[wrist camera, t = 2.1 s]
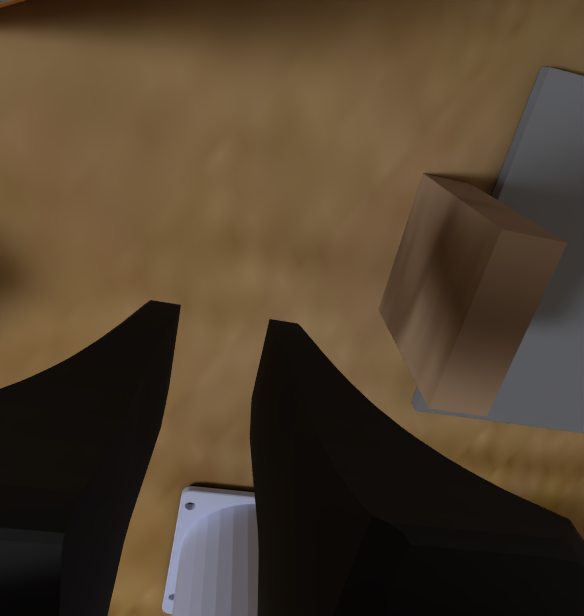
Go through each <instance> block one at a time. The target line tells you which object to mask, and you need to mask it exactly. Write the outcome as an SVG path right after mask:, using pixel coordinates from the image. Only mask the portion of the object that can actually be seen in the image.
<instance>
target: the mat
mask: <svg viewBox="0 0 584 616" xmlns="http://www.w3.org/2000/svg"><path fill="white" fill-rule="evenodd" d="M492 197H493V198H495V199H497V200H498V201H500V202H502V203H503V204H505V205H507V206H508V207H510V208H511V209H513V210H515V211H516V212H518V213H520V214H521V215H523V216H525V217H526V218H528V219H530V220H531V221H533V222H534V223H536V224H538V225H539V226H541V227H543V228H544V229H546V230H548V231H549V232H551V233H552V234H554V235H556V236H557V237H559V238H561V239H562V240H564V241H566V242H567V243H568V244H567V246H566V248H565V250H564V252H563V254H562V256H561V259H560V261H559V263H558V265H557V267H556V269H555V271H554V273H553V276H552V278H551V280H550V282H549V284H548V286H547V288H546V291H545V293H544V295H543V297H542V299H541V301H540V303H539V305H538V308H537V310H536V312H535V314H534V316H533V318H532V320H531V323H530V325H529V327H528V329H527V331H526V333H525V335H524V337H523V340H522V342H521V344H520V346H519V348H518V350H517V352H516V355H515V357H514V359H513V361H512V363H511V365H510V367H509V370H508V372H507V374H506V376H505V378H504V380H503V382H502V384H501V387H500V389H499V391H498V393H497V395H496V397H495V399H494V402H493V404H492V406H491V408H490V410H489V412H488V414H487V416H479V415H471V414H464V413H457V412H450V411H442V410H435V409H429V408H428V406H427V404H426V402H425V400H424V398H423V396H422V394H421V392H420V390H419V388H418V387H417V389H416V392H415V395H414V397H413V400H412V402H411V403H412V405H413V407H414V409H415V410H416V411H423V412H430V413H438V414H445V415H452V416H460V417H467V418H475V419H482V420H489V421H497V422H504V423H511V424H519V425H526V426H533V427H541V428H548V429H555V430H563V431H570V432H577V433H584V76H582V75H578V74H574V73H570V72H567V71H563V70H559V69H555V68H551V67H541V69H540V71H539V74H538V77H537V79H536V82H535V84H534V87H533V90H532V92H531V95H530V97H529V100H528V102H527V105H526V108H525V110H524V113H523V115H522V118H521V121H520V123H519V126H518V128H517V131H516V134H515V136H514V139H513V141H512V144H511V146H510V149H509V152H508V154H507V157H506V159H505V162H504V165H503V167H502V170H501V172H500V175H499V177H498V180H497V183H496V185H495V188H494V190H493V193H492Z"/></svg>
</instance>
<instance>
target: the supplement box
mask: <svg viewBox="0 0 584 616" xmlns="http://www.w3.org/2000/svg"><path fill="white" fill-rule="evenodd" d="M22 1H25V0H0V8H2V7H5V6H8V5H12V4H16V3H19V2H22Z"/></svg>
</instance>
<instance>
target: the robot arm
mask: <svg viewBox="0 0 584 616" xmlns="http://www.w3.org/2000/svg"><path fill="white" fill-rule="evenodd" d="M180 307H181V305H178V304H171V303H165V302H159V301H153V300H150V301H149V302H147V303H146V304H144V305H143V306H142V307H141V308H139V309H138V310H137V311H136V312H135V313H133V314H132V315H131V316H130V317H128V318H127V319H126V320H125V321H123V322H122V323H121V324H119V325H118V326H117V327H115V328H114V329H113V330H111V331H110V332H108V333H107V334H106V335H104V336H103V337H102V338H100V339H99V340H97V341H96V342H94V343H93V344H91V345H89V346H88V347H86V348H85V349H83V350H81V351H80V352H78V353H77V354H75V355H73V356H72V357H70V358H68V359H66V360H65V361H63V362H61V363H59V364H57V365H55V366H53V367H51V368H49V369H47V370H44V371H42V372H40V373H38V374H36V375H34V376H32V377H29V378H27V379H25V380H22V381H20V382H17V383H14V384H12V385H9V386H6V387H4V388H1V389H0V616H107V615H108V611H109V606H110V602H111V597H112V593H113V588H114V584H115V580H116V575H117V571H118V566H119V562H120V557H121V553H122V549H123V544H124V540H125V536H126V533H127V529H128V526H129V522H130V519H131V516H132V513H133V510H134V507H135V504H136V501H137V498H138V495H139V492H140V489H141V486H142V483H143V480H144V477H145V474H146V471H147V468H148V465H149V462H150V459H151V456H152V453H153V450H154V447H155V444H156V441H157V438H158V435H159V431H160V428H161V424H162V419H163V415H164V410H165V405H166V400H167V395H168V390H169V384H170V377H171V370H172V363H173V356H174V349H175V342H176V335H177V328H178V321H179V314H180ZM250 446H251V459H252V471H253V482H254V492H245V491H235V490H225V489H216V488H206V487H196V486H189V487H186V488H185V489H184V490H183V492H182V496H181V501H180V507H179V513H178V519H177V524H176V530H175V536H174V542H173V547H172V553H171V559H170V565H169V570H168V576H167V582H166V587H165V593H164V599H163V605H162V610H163V611H164V612H165V613H168V614H172V616H584V540H583V539H582V537H581V536H580V534H579V533H578V531H577V530H576V528H575V527H574V526H573V524H572V523H571V521H570V520H569V519H567V518H565V517H563V516H560V515H558V514H556V513H554V512H552V511H549V510H547V509H545V508H543V507H541V506H539V505H536V504H534V503H532V502H530V501H528V500H525V499H523V498H521V497H519V496H517V495H514V494H512V493H510V492H508V491H506V490H504V489H502V488H500V487H498V486H496V485H494V484H492V483H491V482H489V481H487V480H485V479H483V478H481V477H479V476H478V475H476V474H474V473H472V472H470V471H468V470H466V469H465V468H463V467H461V466H460V465H458V464H456V463H455V462H453V461H451V460H450V459H448V458H446V457H445V456H443V455H442V454H440V453H439V452H437V451H435V450H434V449H432V448H431V447H429V446H428V445H426V444H425V443H423V442H422V441H420V440H419V439H417V438H416V437H414V436H413V435H412V434H410V433H409V432H408V431H406V430H405V429H403V428H402V427H401V426H400V425H398V424H397V423H396V422H395V421H393V420H392V419H391V418H390V417H388V416H387V415H386V414H385V413H383V412H382V411H381V410H380V409H378V408H377V407H376V406H375V405H374V404H373V403H371V402H370V401H369V400H368V399H367V398H366V397H365V396H364V395H363V394H362V393H361V392H360V391H359V390H358V389H357V388H356V387H355V386H354V385H352V384H351V383H350V382H349V381H348V380H347V378H346V377H345V376H344V375H343V374H342V373H341V372H340V371H339V370H338V369H337V368H336V367H335V366H334V365H333V363H332V362H331V361H330V360H329V359H328V358H327V357H326V356H325V354H324V353H323V352H322V351H321V350H320V349H319V347H318V346H317V345H316V344H315V343H314V341H313V340H312V339H311V338H310V337H309V336H308V334H307V333H306V332H305V331H304V330H303V329H302V327H301V326H300V325H299V324H297V323H291V322H285V321H278V320H272V319H270V320H269V324H268V328H267V333H266V337H265V342H264V346H263V351H262V355H261V359H260V364H259V368H258V373H257V377H256V381H255V386H254V390H253V395H252V402H251V421H250ZM189 502H191V503H193V504H189Z"/></svg>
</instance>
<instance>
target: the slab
mask: <svg viewBox="0 0 584 616" xmlns="http://www.w3.org/2000/svg"><path fill="white" fill-rule="evenodd" d="M567 244H568V243H567V242H566V241H564V240H562V239H561V238H559V237H557V236H556V235H554V234H552V233H551V232H549V231H548V230H546V229H544V228H543V227H541V226H539V225H538V224H536V223H534V222H533V221H531V220H530V219H528V218H526V217H525V216H523V215H521V214H520V213H518V212H516V211H515V210H513V209H511V208H510V207H508V206H507V205H505V204H503V203H502V202H500V201H498V200H497V199H495V198H493V197H492V196H490V195H488V194H487V193H485V192H484V191H482V190H480V189H479V188H477V187H475V186H474V185H472V184H470V183H466V182H461V181H457V180H452V179H447V178H443V177H438V176H433V175H429V174H424V173H423V175H422V178H421V181H420V184H419V187H418V190H417V193H416V197H415V200H414V203H413V206H412V209H411V212H410V215H409V218H408V221H407V224H406V227H405V230H404V234H403V237H402V240H401V243H400V246H399V249H398V252H397V255H396V258H395V261H394V264H393V267H392V271H391V274H390V277H389V280H388V283H387V286H386V289H385V292H384V295H383V298H382V301H381V304H380V308H379V311H380V313H381V315H382V317H383V319H384V321H385V323H386V325H387V327H388V329H389V331H390V333H391V335H392V337H393V339H394V341H395V343H396V345H397V347H398V349H399V351H400V353H401V355H402V357H403V359H404V361H405V363H406V365H407V367H408V369H409V371H410V373H411V374H412V376H413V378H414V380H415V382H416V384H417V386H418V388H419V390H420V392H421V394H422V396H423V398H424V400H425V402H426V404H427V406H428V408H429V409H435V410H442V411H450V412H457V413H464V414H471V415H479V416H487V414H488V412H489V410H490V408H491V406H492V404H493V402H494V399H495V397H496V395H497V393H498V391H499V389H500V387H501V384H502V382H503V380H504V378H505V376H506V374H507V372H508V370H509V367H510V365H511V363H512V361H513V359H514V357H515V355H516V352H517V350H518V348H519V346H520V344H521V342H522V340H523V337H524V335H525V333H526V331H527V329H528V327H529V325H530V323H531V320H532V318H533V316H534V314H535V312H536V310H537V308H538V305H539V303H540V301H541V299H542V297H543V295H544V293H545V291H546V288H547V286H548V284H549V282H550V280H551V278H552V276H553V273H554V271H555V269H556V267H557V265H558V263H559V261H560V259H561V256H562V254H563V252H564V250H565V248H566V246H567Z"/></svg>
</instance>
